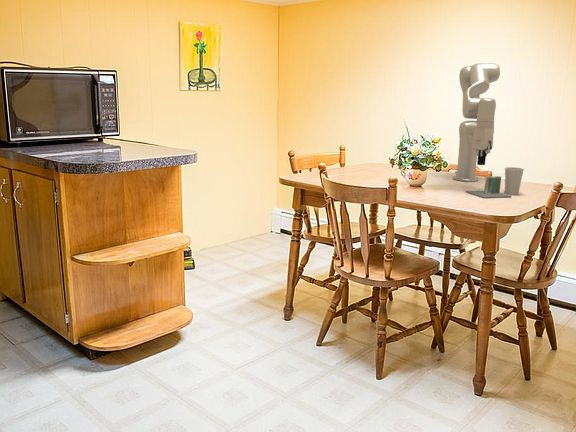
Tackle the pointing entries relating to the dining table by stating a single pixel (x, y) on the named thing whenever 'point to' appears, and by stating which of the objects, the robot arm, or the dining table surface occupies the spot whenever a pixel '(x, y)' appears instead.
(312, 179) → the dining table surface
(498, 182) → the tile
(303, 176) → the dining table surface
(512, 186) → the cup
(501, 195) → the mat
